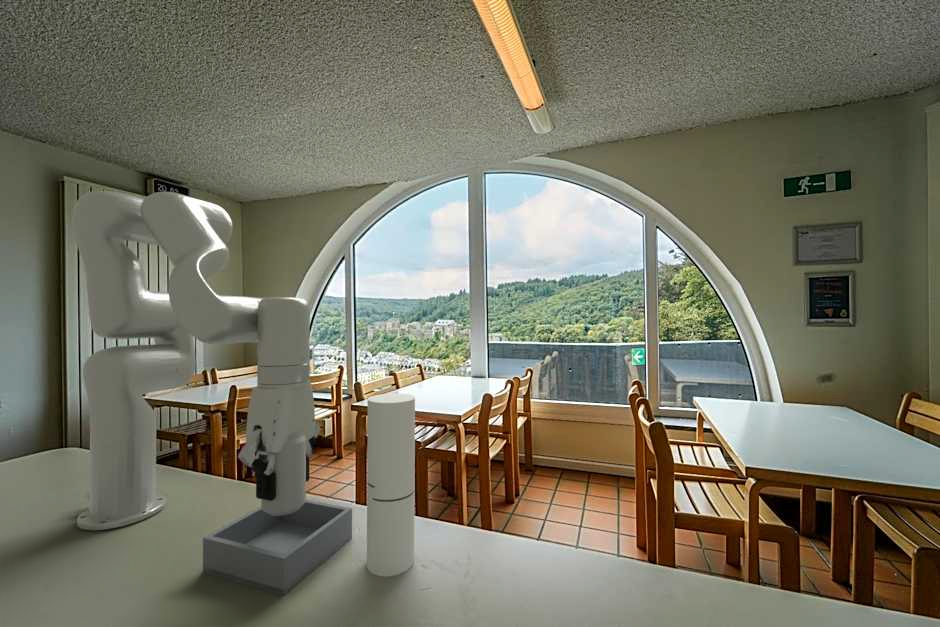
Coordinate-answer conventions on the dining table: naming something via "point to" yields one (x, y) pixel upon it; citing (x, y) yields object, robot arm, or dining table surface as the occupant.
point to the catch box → (277, 546)
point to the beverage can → (288, 477)
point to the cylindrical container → (390, 483)
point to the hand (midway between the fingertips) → (283, 488)
